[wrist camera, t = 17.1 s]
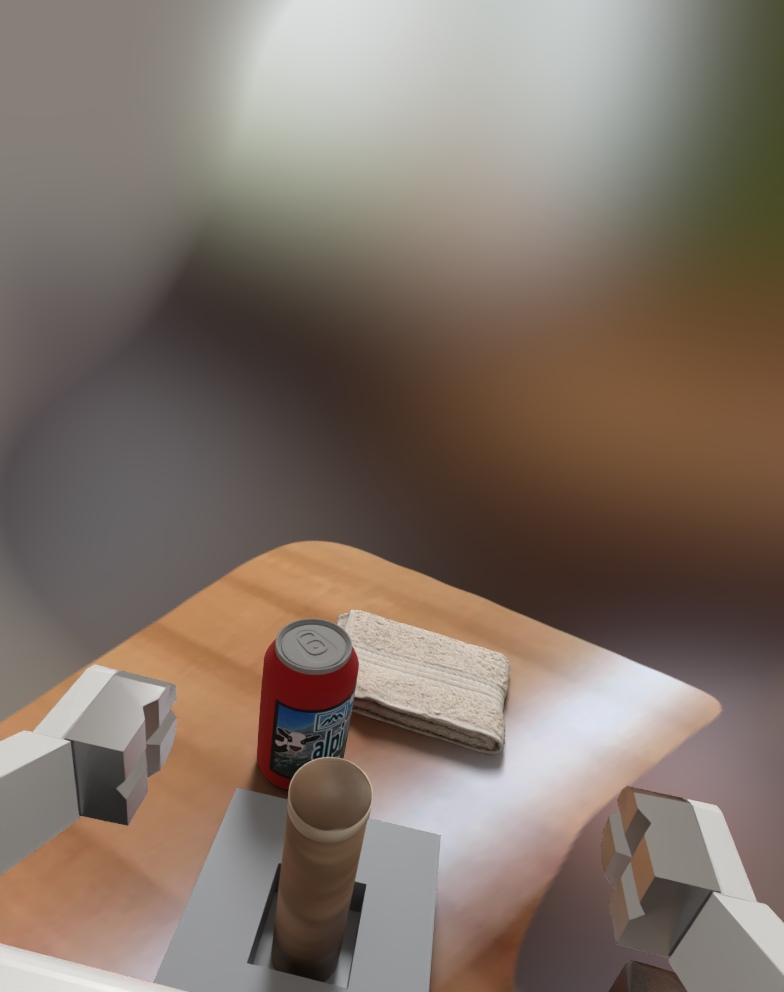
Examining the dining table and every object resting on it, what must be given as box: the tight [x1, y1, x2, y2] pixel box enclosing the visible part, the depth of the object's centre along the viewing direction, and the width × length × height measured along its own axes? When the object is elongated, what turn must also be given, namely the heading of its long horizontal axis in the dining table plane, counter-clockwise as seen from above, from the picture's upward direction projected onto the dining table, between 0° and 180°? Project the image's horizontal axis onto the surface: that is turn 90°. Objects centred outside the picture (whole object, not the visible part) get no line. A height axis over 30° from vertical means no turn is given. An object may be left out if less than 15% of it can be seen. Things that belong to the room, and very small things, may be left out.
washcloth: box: [337, 610, 510, 754], centre depth 57 cm, size 12×18×3 cm, turn 77°
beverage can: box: [257, 618, 359, 790], centre depth 45 cm, size 7×7×12 cm
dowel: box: [272, 757, 373, 982], centre depth 33 cm, size 4×4×14 cm
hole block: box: [153, 788, 441, 992], centre depth 35 cm, size 14×14×4 cm
